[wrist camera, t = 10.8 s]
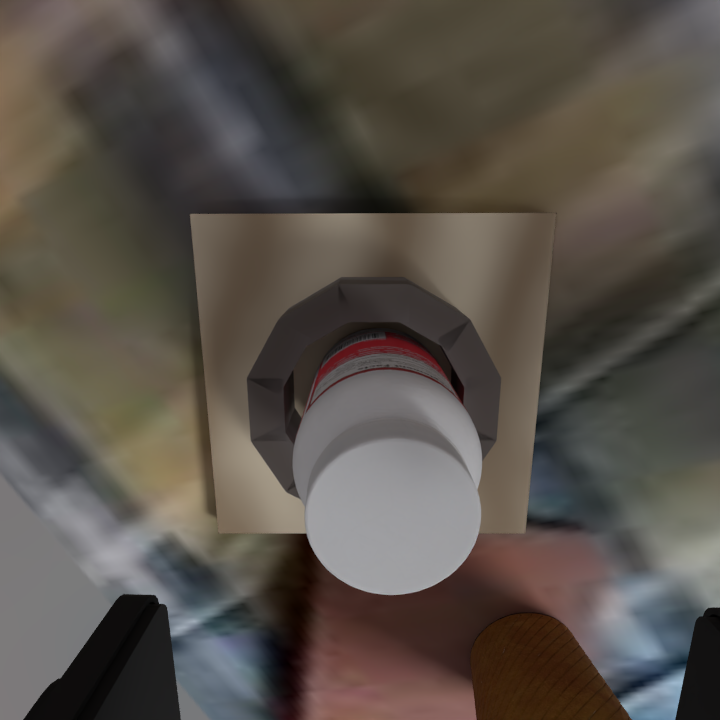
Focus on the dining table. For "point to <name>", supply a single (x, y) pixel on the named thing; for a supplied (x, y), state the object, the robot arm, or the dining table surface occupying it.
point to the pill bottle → (387, 465)
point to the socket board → (359, 312)
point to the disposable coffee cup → (537, 674)
